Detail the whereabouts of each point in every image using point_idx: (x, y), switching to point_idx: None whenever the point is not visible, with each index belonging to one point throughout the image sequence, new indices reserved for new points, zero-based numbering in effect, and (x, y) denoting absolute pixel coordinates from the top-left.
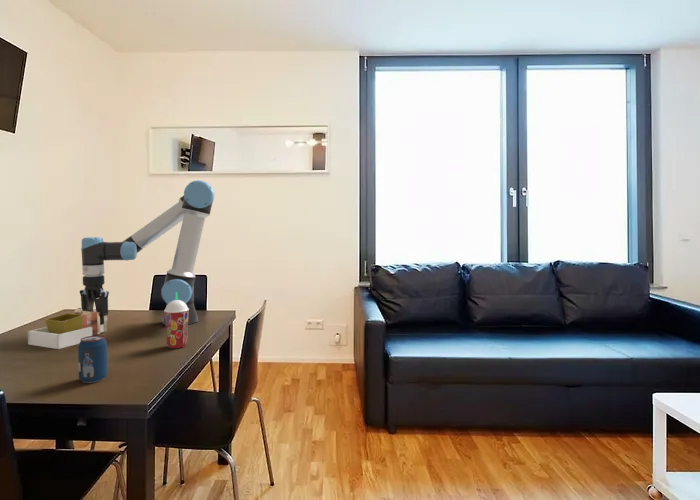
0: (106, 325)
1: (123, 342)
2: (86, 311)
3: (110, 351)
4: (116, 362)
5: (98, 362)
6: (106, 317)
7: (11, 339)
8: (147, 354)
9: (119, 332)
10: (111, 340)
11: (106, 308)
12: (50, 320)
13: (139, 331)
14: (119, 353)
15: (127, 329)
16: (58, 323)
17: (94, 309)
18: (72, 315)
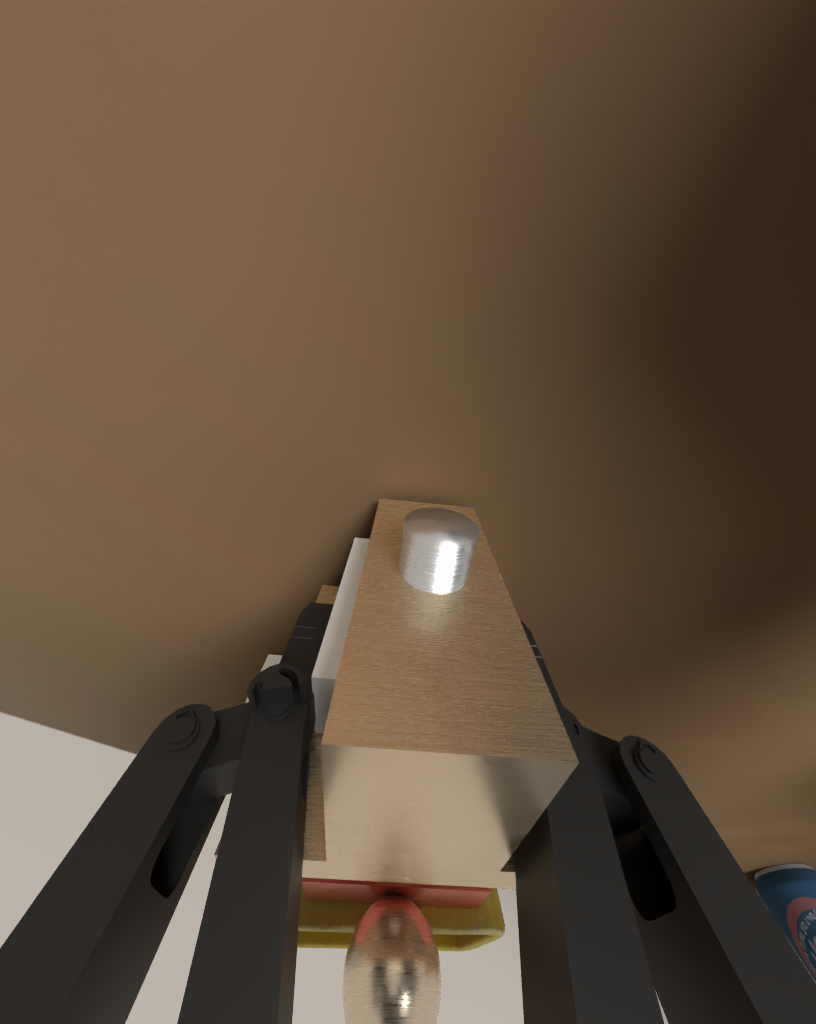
0: (483, 535)
1: (757, 672)
2: (353, 875)
3: (739, 763)
4: (812, 817)
5: None
6: (510, 600)
7: (109, 734)
8: None
9: (602, 486)
10: (657, 659)
11: (758, 946)
12: (346, 947)
13: (811, 395)
14: (793, 771)
15: (626, 348)
16: None
17: (328, 807)
18: (352, 908)
